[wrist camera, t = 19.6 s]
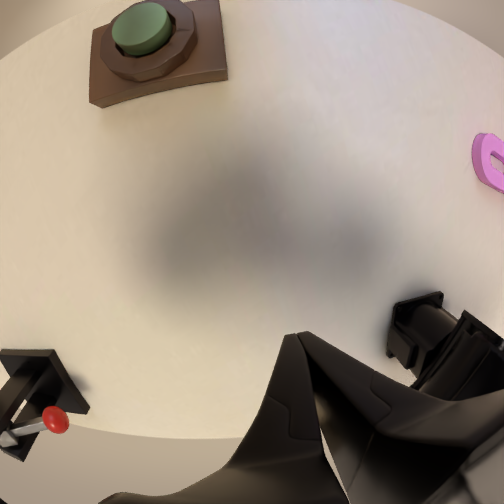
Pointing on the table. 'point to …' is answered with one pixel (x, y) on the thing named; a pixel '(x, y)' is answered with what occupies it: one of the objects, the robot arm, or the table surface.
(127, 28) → the button
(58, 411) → the switch lever
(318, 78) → the table surface
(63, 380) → the switch bracket
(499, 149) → the bracket
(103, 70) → the button block
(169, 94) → the table surface
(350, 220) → the table surface
